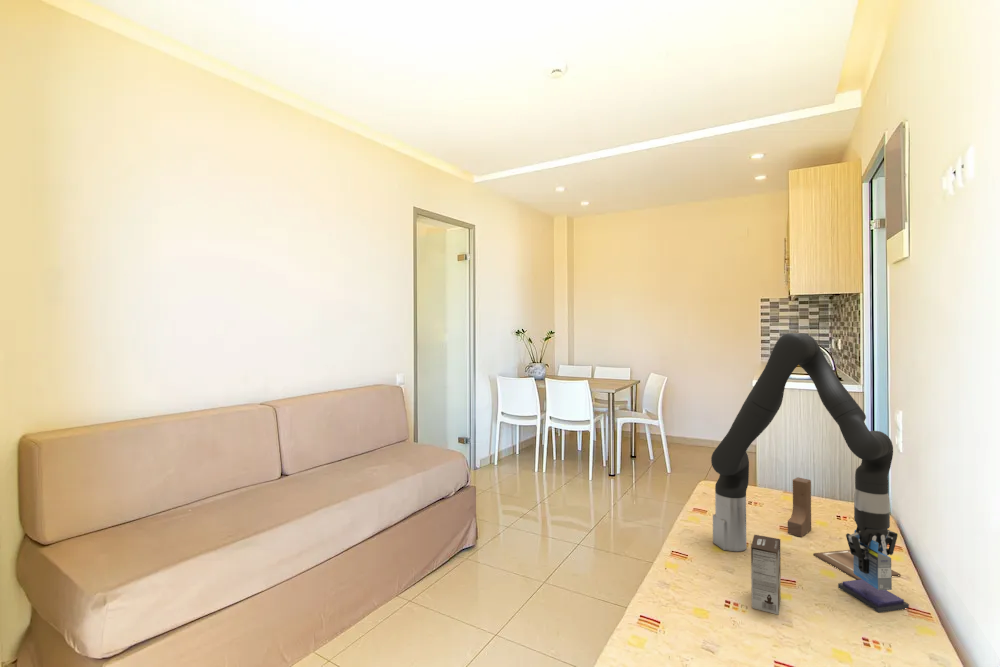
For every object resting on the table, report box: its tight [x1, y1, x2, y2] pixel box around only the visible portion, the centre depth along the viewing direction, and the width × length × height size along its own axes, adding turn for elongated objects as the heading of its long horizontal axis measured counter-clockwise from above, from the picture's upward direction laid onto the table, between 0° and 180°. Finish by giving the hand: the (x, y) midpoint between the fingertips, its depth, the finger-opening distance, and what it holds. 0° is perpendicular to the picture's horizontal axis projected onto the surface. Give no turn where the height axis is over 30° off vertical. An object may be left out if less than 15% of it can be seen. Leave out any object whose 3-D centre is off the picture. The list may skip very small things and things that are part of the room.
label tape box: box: [853, 529, 893, 591], centre depth 130 cm, size 9×4×12 cm, turn 1°
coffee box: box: [750, 534, 782, 616], centre depth 128 cm, size 9×6×16 cm
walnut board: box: [813, 549, 901, 580], centre depth 147 cm, size 14×16×1 cm
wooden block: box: [787, 476, 812, 538], centre depth 171 cm, size 9×4×18 cm, turn 128°
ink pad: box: [837, 579, 910, 614], centre depth 130 cm, size 9×12×2 cm
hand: (872, 571), depth 130 cm, fingers closed on label tape box, 4 cm apart
